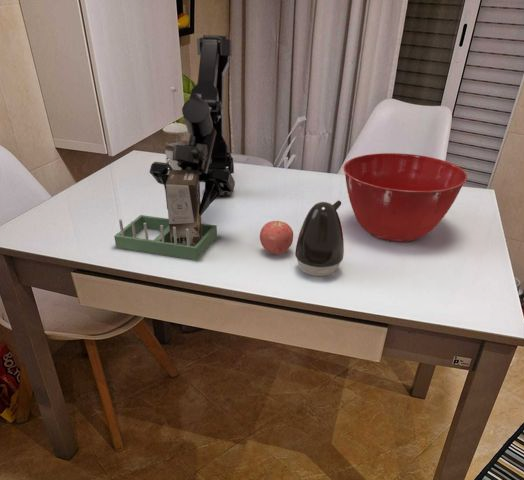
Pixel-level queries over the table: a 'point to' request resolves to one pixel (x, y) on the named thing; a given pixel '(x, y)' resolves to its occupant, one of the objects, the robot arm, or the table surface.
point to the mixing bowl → (401, 193)
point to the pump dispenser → (320, 240)
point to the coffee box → (184, 205)
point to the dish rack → (162, 238)
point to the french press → (174, 129)
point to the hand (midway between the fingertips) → (184, 212)
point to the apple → (276, 237)
